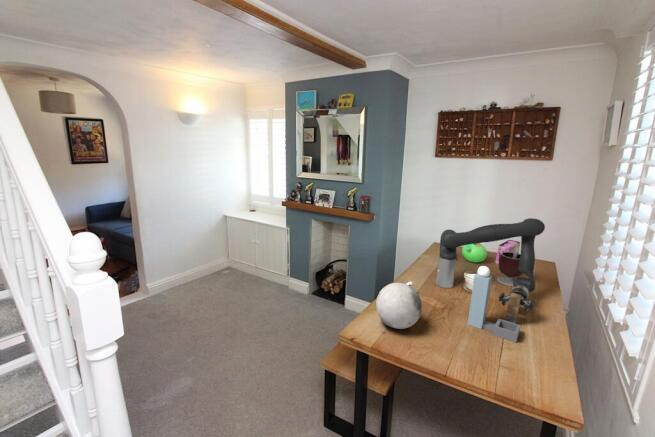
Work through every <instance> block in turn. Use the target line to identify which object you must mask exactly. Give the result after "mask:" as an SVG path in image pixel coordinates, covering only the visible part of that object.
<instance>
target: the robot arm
mask: <svg viewBox="0 0 655 437" xmlns="http://www.w3.org/2000/svg"><path fill="white" fill-rule="evenodd" d="M545 228H546V225H545V223H544V222H543V221H542V220H540V219H538V218H530V217H529V218H525V219H524V220H522V221H520V222H516V223H495V224H493V223H492V224H487V225H482V226H479V227H477V228H474V229H472V230H469V231H464V232H463V231H462V232H456V231H455V230H453V229H445V230H444V231H442V233H441V234H440V235H441V236H440V238H439V239H440V241H439V257H438V263H437V264H438V265H437V266H438V267H437V269H436V279H435V286H438V287H440V288H442V289H443V288H444V289H451V288H453V287H454V278H455V272H456V271H455V270H456V262H457V255H458V254H457V248H459V247H463V246H464V245H468V244H476V243H480V244H482V243H483V244H484V243H491V242H492V243H493V242H497V241H503V240H510V239H512V238H517V237H519V238H520V239H521V240H520V253H519V254H520V261H519V269H518V270H519V272H521V273H522V274H523V275H526V276H527V277H528V278H527V277H522V276H517V277H513V278H514V280H513V286H512V287H513V288H512V289H511V291H510V293H509V294H508V295H507V294H506V293H505V292H501V294H500V295H499V297H498V301H499V302H501V305H502V306H503V307H505V305H506V304H509V298H510V295H511V293H515V294H519V295H521V300H520V305H519V307H521V308H522V309H523V311H522V312H524V313H525V312H528V310H530V311H533V310H534V306H535V301H534V300H532V299H531V300H530V301H529V300H528V299H529V296H530V293H533V292H534V291H535V289H536V285H537V284H536V281H535V275H534V273H535V272H534V270H535V265H536V253H535V239H536V236H539V235H541V234H543V232H545Z"/></svg>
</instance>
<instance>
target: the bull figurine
mask: <svg viewBox="0 0 655 437" xmlns="http://www.w3.org/2000/svg"><path fill="white" fill-rule="evenodd" d="M406 284H407V285H409V286H410V287H412V288H414V286H415V285H414V283H413V282H412V281H407V282H406Z"/></svg>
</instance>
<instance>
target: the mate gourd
mask: <svg viewBox="0 0 655 437" xmlns="http://www.w3.org/2000/svg"><path fill="white" fill-rule="evenodd" d="M518 251H519V252H520V248H518V249H517V250H516V251H515V252H514V253H513V252H502V253H501V255H500V258H499V264H498V269H499V271H500V273H501V274H503V275H505V276H499V277H497V281H498V282H499V283H500V284H503V285H505V286H510V287H513V280H514V278H515V277H520V276H521V275H522V274H523V273H521V272H519V270H518V269H519V261H520V254H521V253H519V254H518Z"/></svg>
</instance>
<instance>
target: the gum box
mask: <svg viewBox="0 0 655 437" xmlns="http://www.w3.org/2000/svg"><path fill="white" fill-rule="evenodd" d="M518 248H519V249H521V241H519V240H513V239H507V240H506V241H504V242H502V243H500V244H498V247H497V252H496V257H495V264H497V265H499V258H500V255H501V253H502V252H513V253H514V252H515V251H516V250H517V249H518ZM518 254H520V250H519V251H518Z"/></svg>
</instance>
